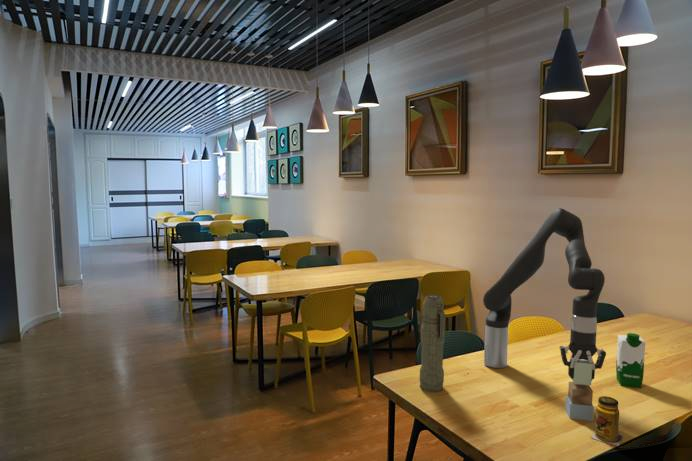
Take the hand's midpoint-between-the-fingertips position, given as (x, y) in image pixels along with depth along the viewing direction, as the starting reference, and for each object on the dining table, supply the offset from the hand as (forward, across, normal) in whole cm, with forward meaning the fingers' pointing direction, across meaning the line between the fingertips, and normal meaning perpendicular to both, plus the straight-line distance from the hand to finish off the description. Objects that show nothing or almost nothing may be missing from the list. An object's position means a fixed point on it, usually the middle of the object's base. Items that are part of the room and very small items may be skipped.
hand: (581, 378), depth 153 cm
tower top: (+7, 0, 0) cm, 7 cm away
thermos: (+12, -49, +9) cm, 51 cm away
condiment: (+13, +5, -13) cm, 19 cm away
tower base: (+12, 0, 0) cm, 12 cm away
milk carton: (+13, +25, +33) cm, 43 cm away
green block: (+1, 0, 0) cm, 1 cm away
